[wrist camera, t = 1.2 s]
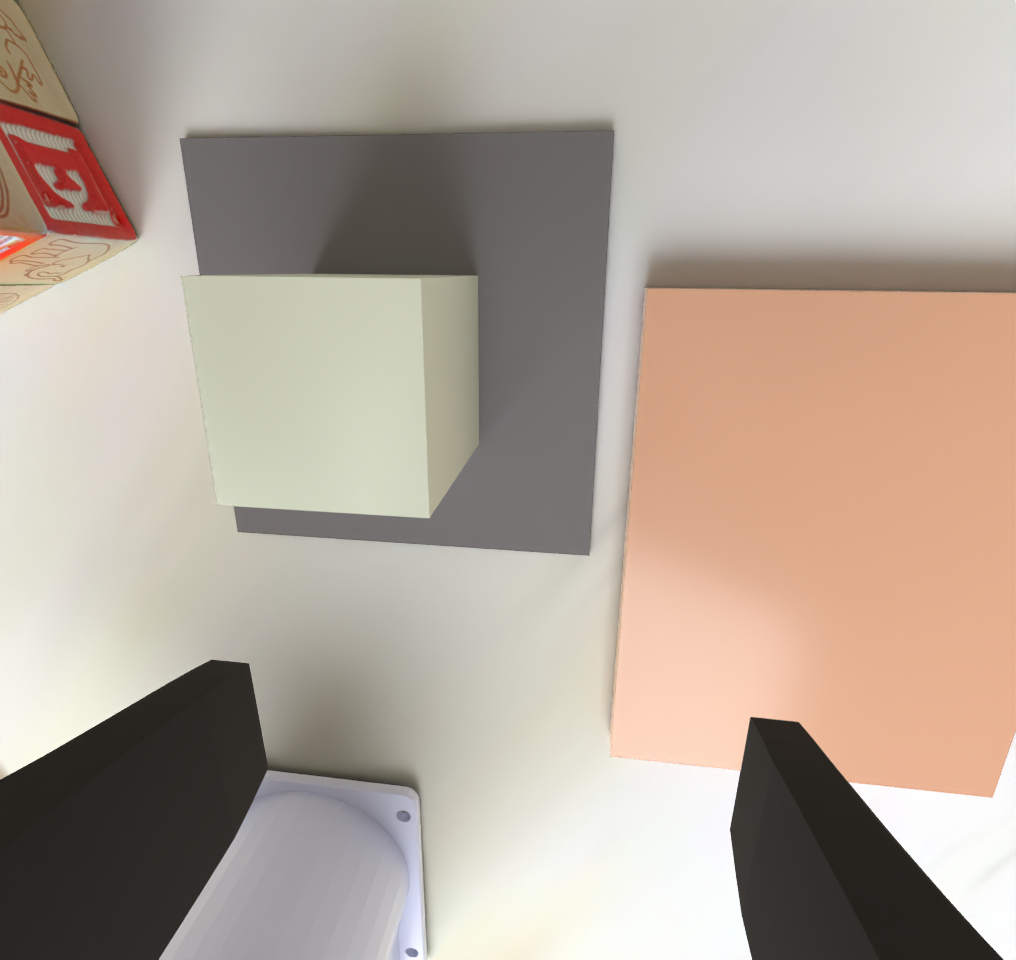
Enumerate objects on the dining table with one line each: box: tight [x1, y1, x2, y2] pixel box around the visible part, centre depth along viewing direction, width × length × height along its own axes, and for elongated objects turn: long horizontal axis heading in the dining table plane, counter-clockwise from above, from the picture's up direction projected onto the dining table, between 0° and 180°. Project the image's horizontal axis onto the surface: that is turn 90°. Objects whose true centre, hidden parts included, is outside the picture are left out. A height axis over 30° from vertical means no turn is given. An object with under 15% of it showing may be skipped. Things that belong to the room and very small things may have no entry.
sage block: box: [181, 274, 479, 518], centre depth 14 cm, size 4×4×6 cm
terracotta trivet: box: [610, 288, 1016, 798], centre depth 17 cm, size 14×11×1 cm
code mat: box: [180, 131, 614, 556], centre depth 17 cm, size 11×11×1 cm
